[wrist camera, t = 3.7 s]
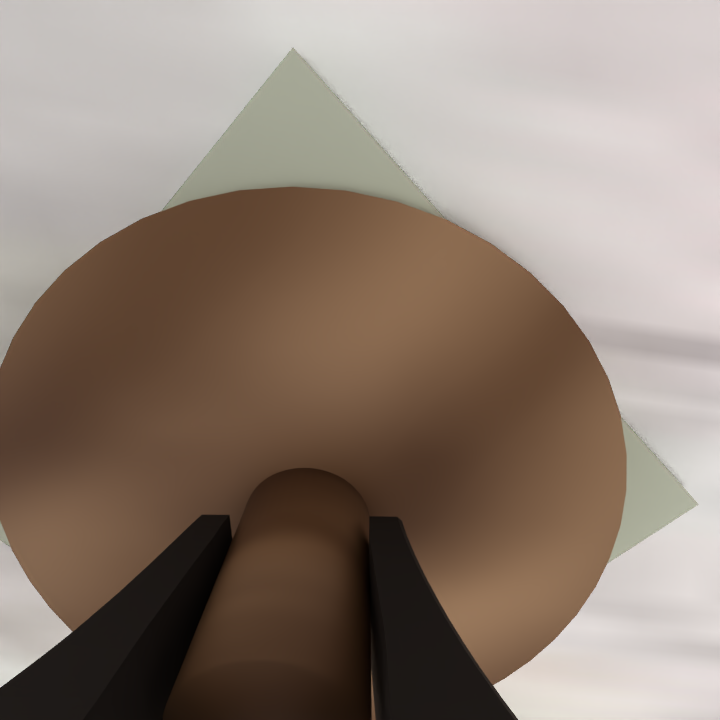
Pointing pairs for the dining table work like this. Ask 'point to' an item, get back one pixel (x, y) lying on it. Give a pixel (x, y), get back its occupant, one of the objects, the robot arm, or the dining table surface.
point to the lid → (309, 438)
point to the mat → (383, 180)
